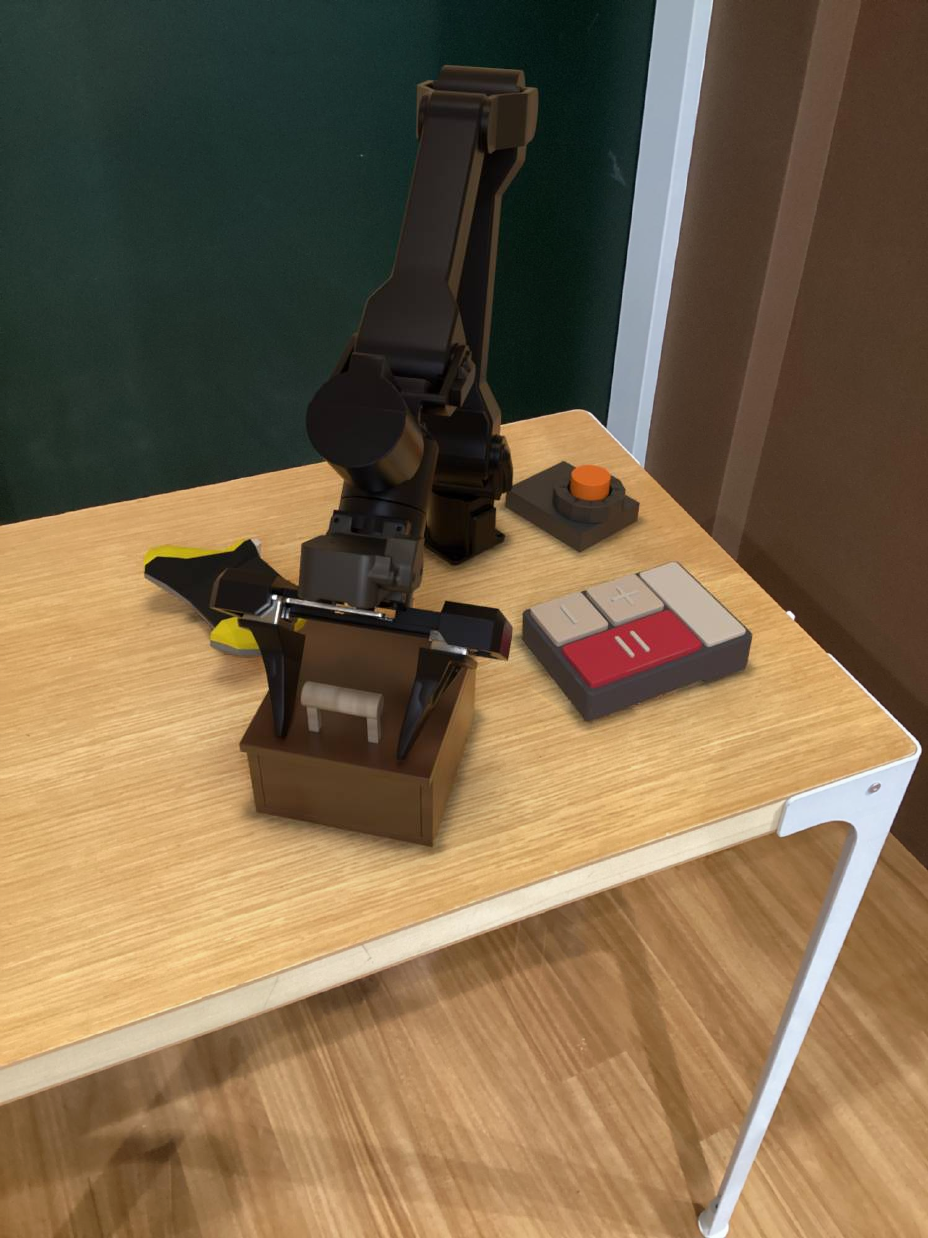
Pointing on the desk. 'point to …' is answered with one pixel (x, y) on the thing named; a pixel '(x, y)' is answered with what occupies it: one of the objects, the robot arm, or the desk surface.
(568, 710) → the desk surface
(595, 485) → the button
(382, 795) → the chest
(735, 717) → the desk surface
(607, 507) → the console
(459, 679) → the lid
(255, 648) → the gaming controller
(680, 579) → the calculator
